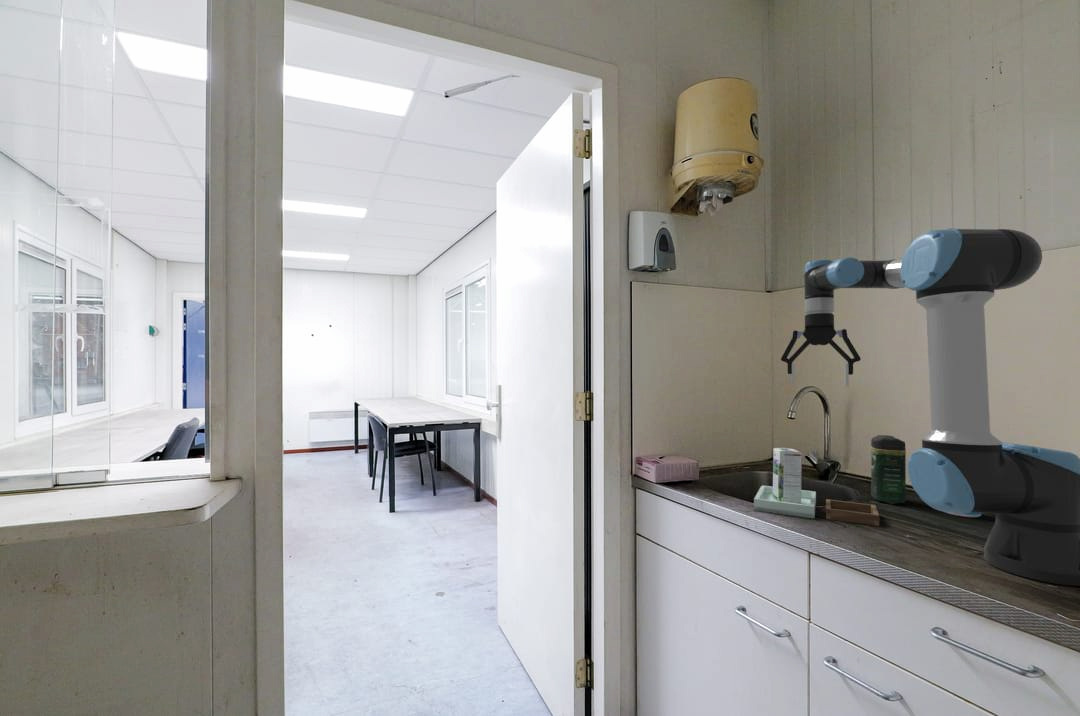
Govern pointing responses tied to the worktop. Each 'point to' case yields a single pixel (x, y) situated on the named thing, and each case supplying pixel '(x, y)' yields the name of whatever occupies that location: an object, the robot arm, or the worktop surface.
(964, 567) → the worktop surface
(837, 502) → the walnut collar
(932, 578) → the worktop surface
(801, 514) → the mint tray
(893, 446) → the coffee jar
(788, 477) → the syrup box
